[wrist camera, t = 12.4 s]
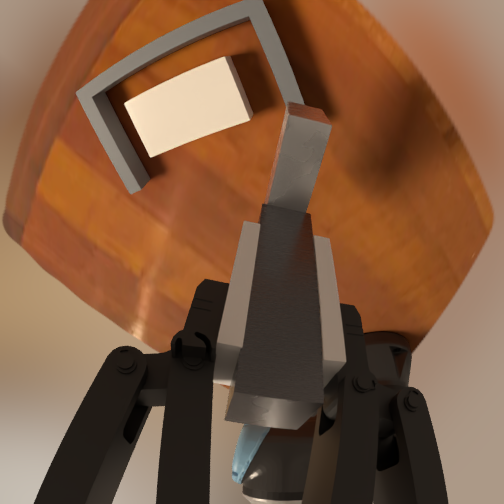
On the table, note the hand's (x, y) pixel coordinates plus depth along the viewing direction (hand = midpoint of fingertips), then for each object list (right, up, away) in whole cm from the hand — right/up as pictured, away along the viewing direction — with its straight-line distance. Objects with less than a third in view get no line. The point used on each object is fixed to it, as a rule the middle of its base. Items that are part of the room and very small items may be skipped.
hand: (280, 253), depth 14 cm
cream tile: (-7, +14, +11) cm, 19 cm away
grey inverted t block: (+1, +4, +5) cm, 6 cm away
